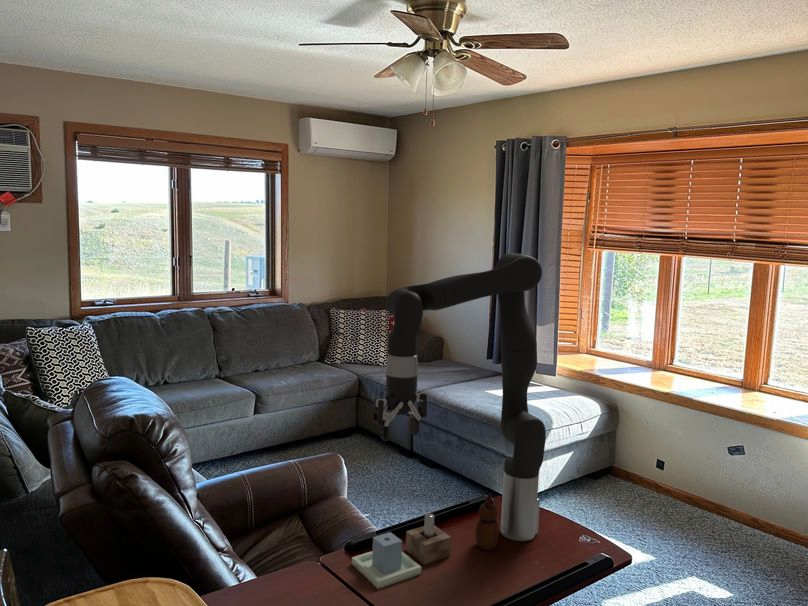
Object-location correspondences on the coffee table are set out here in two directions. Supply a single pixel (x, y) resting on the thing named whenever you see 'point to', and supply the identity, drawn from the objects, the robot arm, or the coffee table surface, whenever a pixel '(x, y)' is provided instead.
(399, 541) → the slate block
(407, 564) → the tray
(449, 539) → the wooden socket block
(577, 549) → the coffee table surface
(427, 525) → the pin
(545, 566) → the coffee table surface
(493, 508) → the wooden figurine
